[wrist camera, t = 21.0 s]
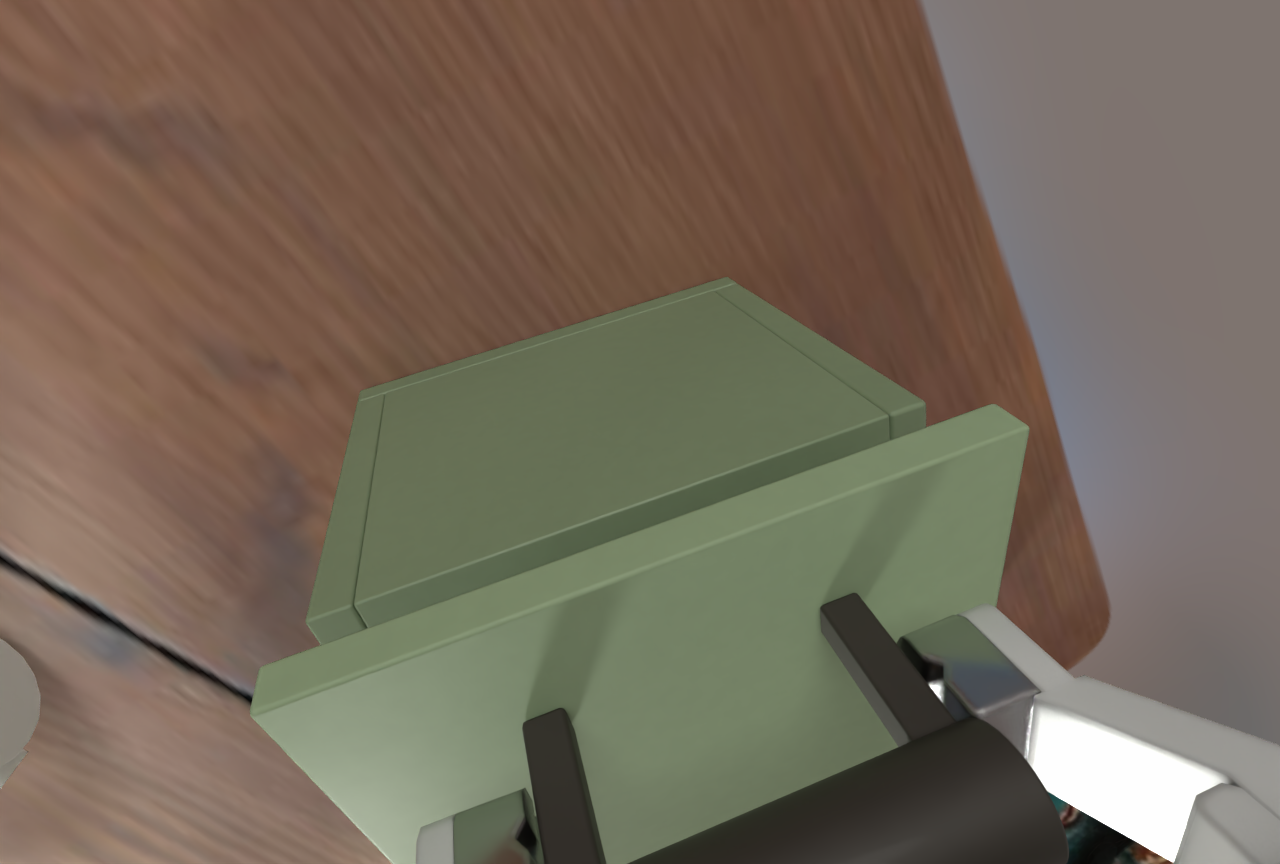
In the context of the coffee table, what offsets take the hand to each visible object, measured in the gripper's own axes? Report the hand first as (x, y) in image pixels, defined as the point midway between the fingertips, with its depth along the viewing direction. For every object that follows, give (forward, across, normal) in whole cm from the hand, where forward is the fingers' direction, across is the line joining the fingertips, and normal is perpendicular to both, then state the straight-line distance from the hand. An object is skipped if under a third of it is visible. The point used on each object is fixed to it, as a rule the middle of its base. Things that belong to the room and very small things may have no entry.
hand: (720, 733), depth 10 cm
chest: (+13, 0, +6) cm, 14 cm away
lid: (+2, 0, +6) cm, 6 cm away
